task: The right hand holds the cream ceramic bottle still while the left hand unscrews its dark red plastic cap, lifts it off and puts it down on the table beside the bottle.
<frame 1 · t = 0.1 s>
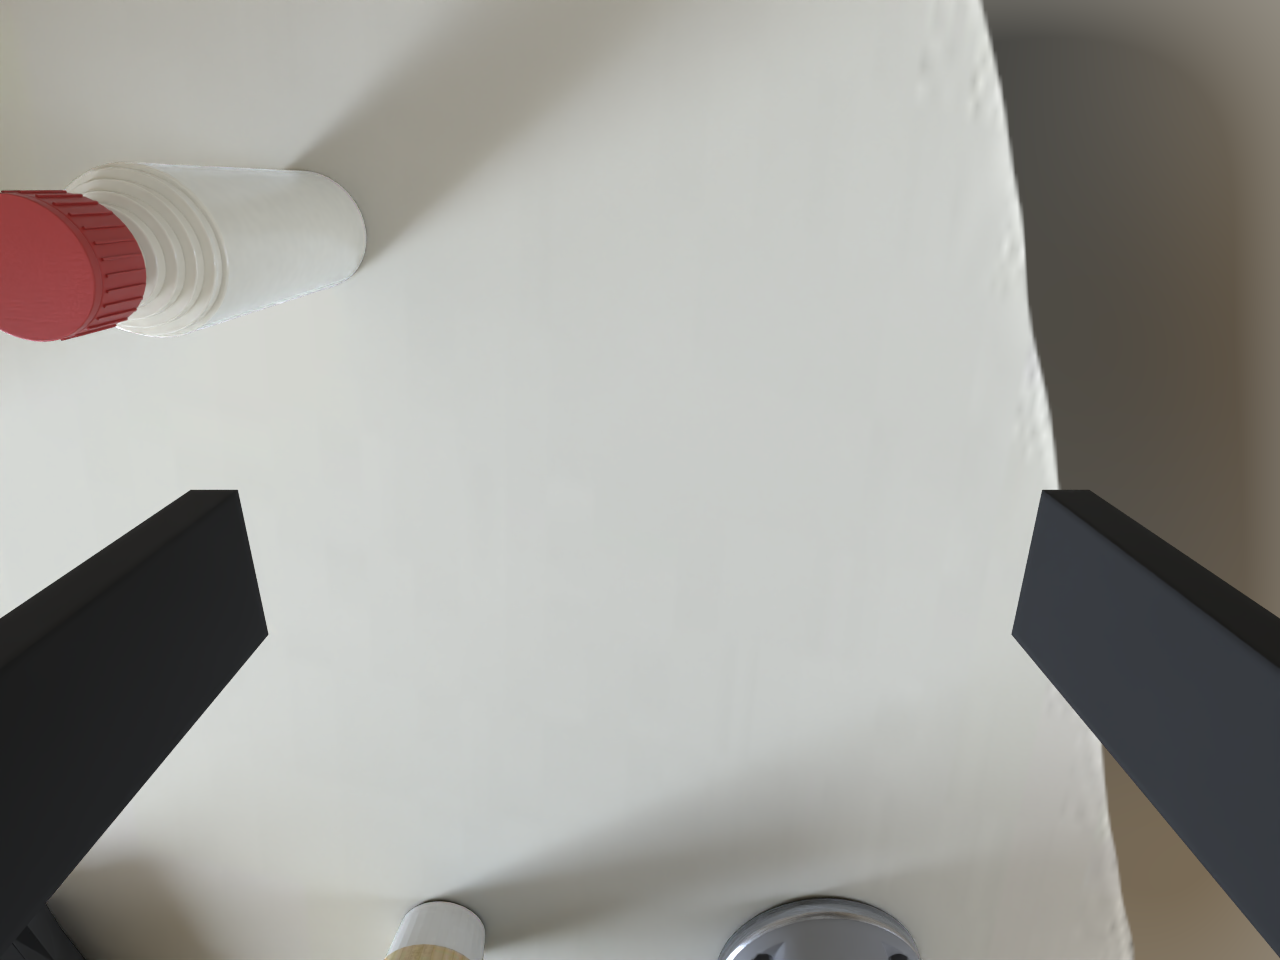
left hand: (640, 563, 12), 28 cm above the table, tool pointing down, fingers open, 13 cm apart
bottle: (310, 230, 37), on the table
cap: (29, 268, 20), point 18 cm above the table, screwed on, not yet turned
coffee cup: (443, 929, 55), on the table
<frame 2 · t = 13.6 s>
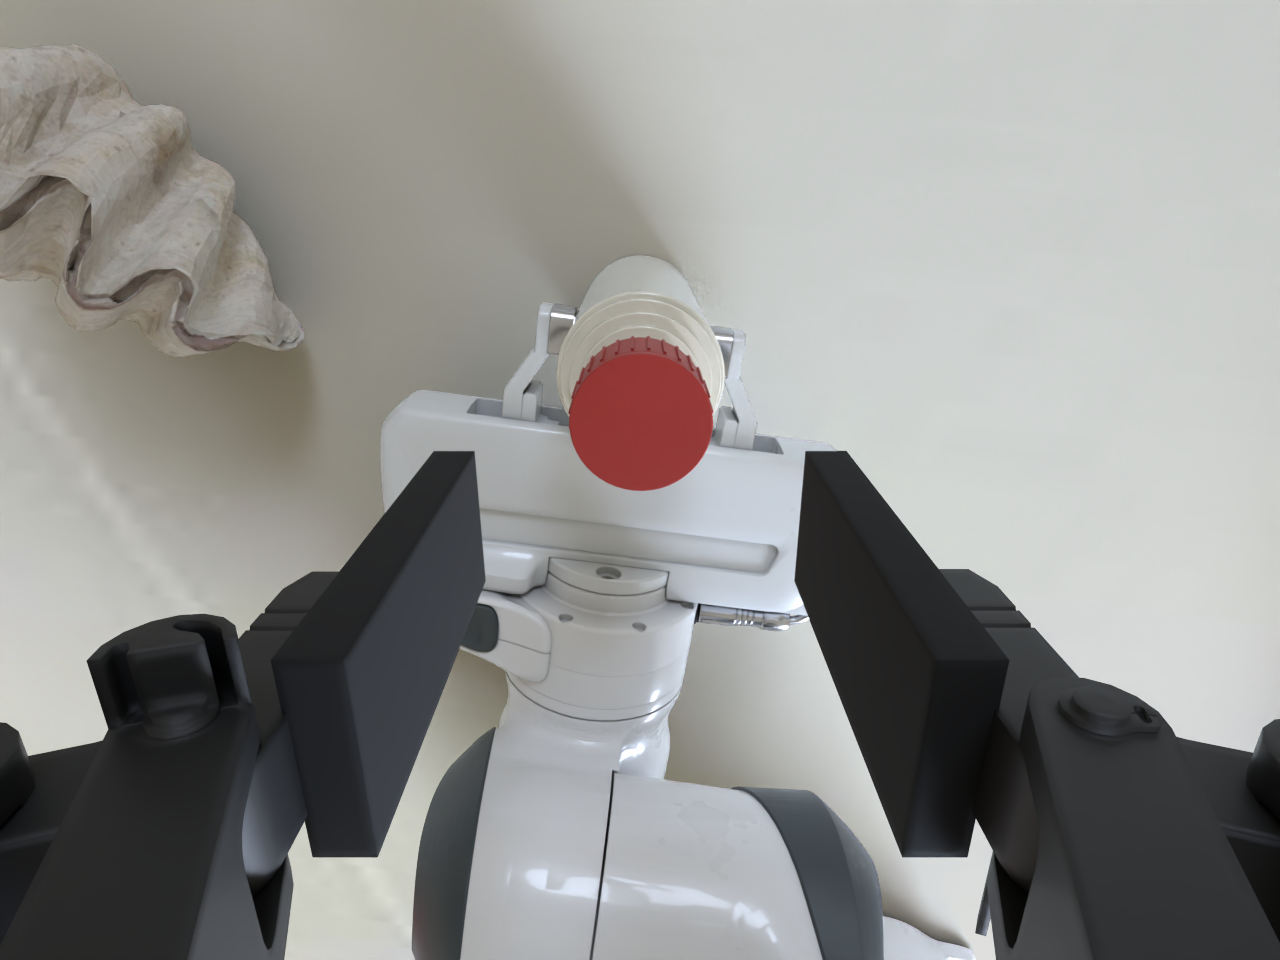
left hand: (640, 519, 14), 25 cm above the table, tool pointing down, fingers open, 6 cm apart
right hand: (642, 317, 30), fingers closed on bottle, 5 cm apart
bottle: (640, 313, 37), on the table, touching right hand
cap: (640, 421, 20), point 18 cm above the table, screwed on, not yet turned
seashell: (175, 212, 35), on the table
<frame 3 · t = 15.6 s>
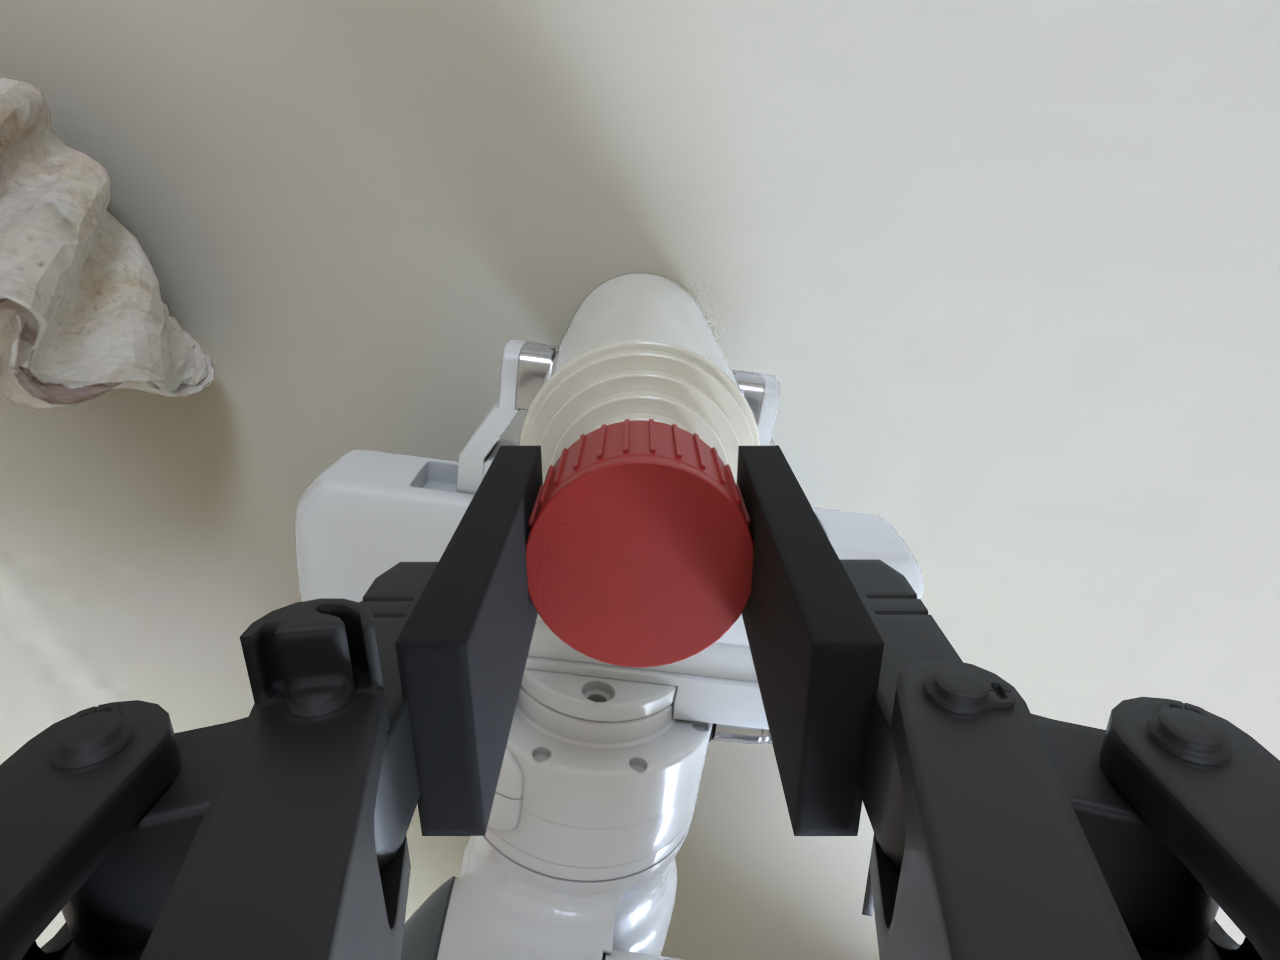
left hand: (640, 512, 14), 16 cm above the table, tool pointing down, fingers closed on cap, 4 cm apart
bottle: (639, 345, 30), on the table, touching right hand
cap: (639, 562, 13), point 18 cm above the table, screwed on, not yet turned, touching left hand
seashell: (50, 218, 28), on the table
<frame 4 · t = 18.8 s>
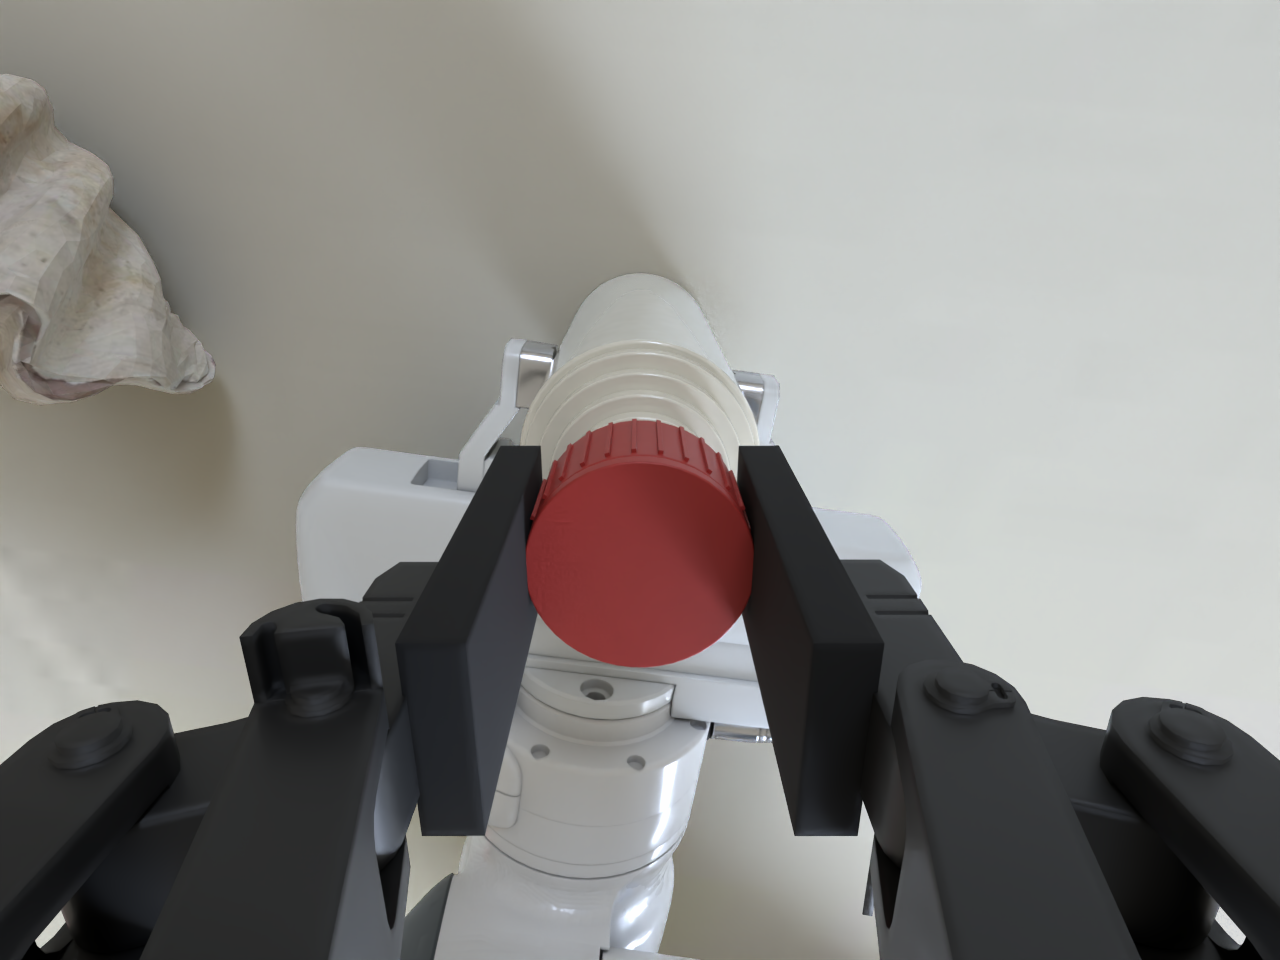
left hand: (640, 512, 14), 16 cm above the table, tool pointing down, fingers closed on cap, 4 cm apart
bottle: (639, 344, 30), on the table, touching right hand
cap: (640, 562, 13), point 18 cm above the table, turned 99° so far, risen 0.1 cm, still on its thread, touching left hand
seashell: (52, 215, 28), on the table
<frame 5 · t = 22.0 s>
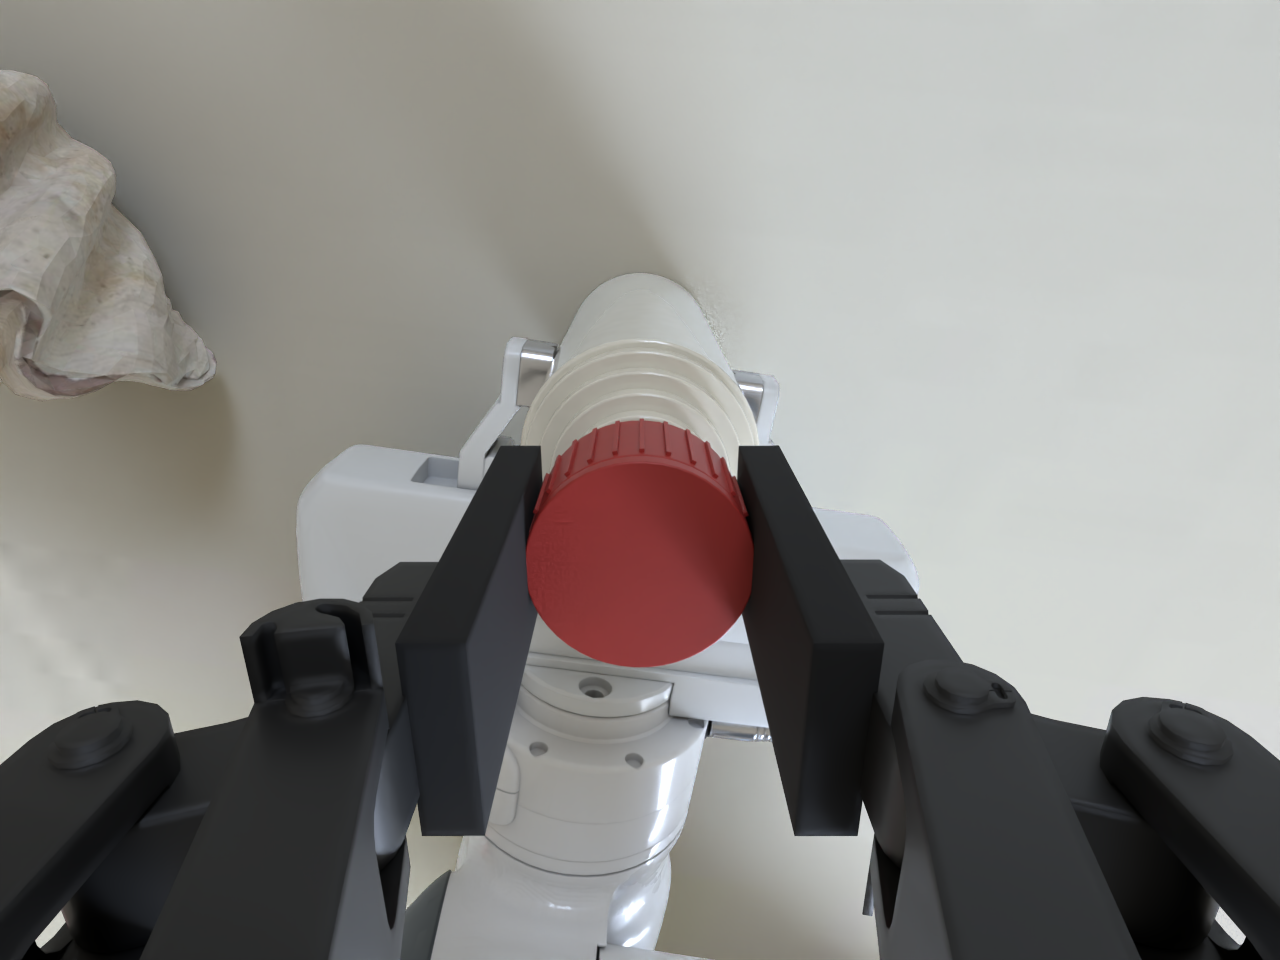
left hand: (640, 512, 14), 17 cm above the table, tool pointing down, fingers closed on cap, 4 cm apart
bottle: (640, 344, 30), on the table, touching right hand
cap: (640, 562, 13), point 19 cm above the table, turned 199° so far, risen 0.2 cm, still on its thread, touching left hand
seashell: (54, 211, 28), on the table
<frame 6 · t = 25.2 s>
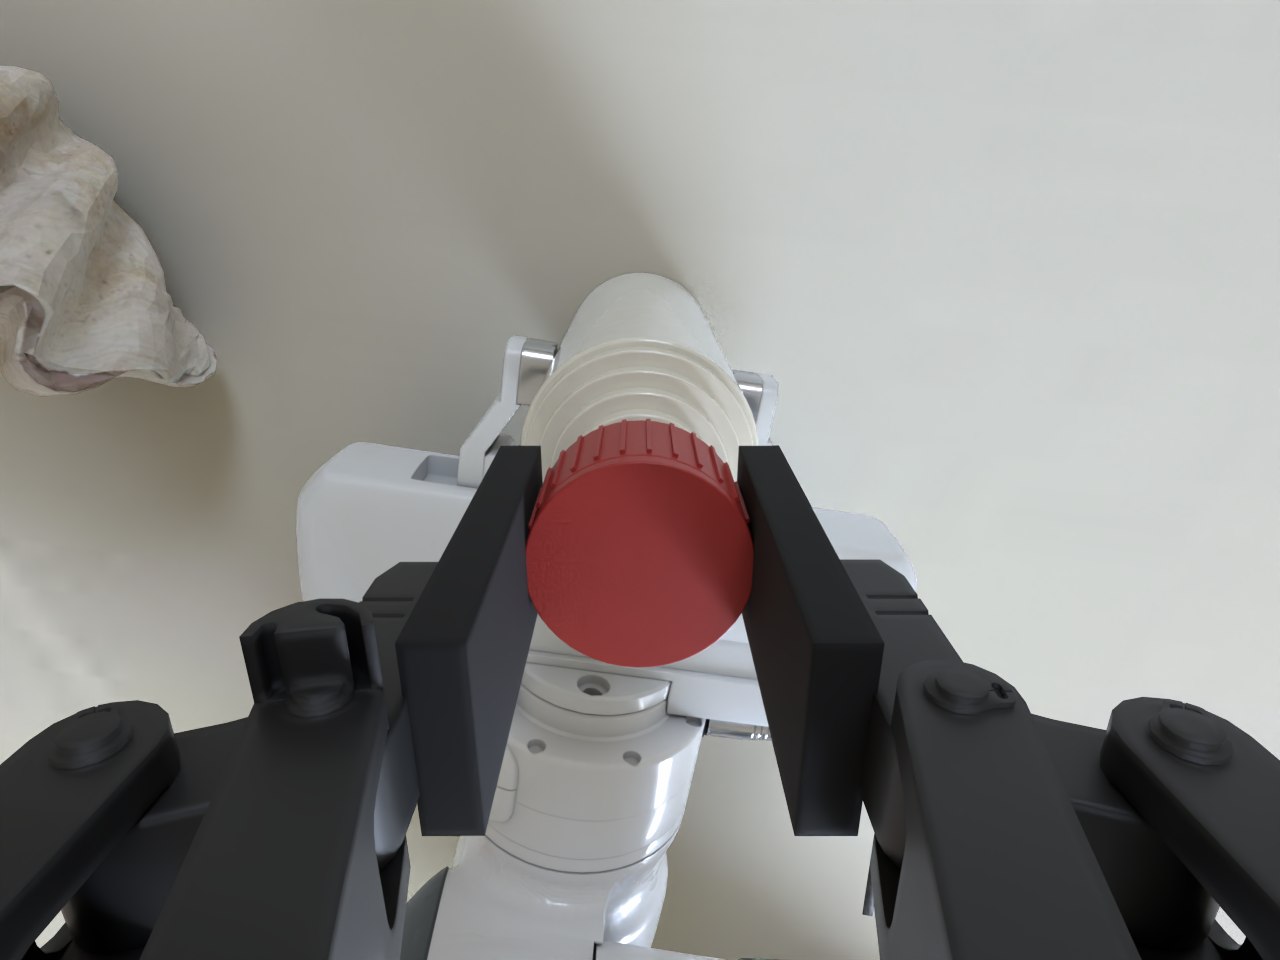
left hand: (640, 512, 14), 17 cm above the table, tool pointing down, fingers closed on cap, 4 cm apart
bottle: (639, 343, 30), on the table, touching right hand
cap: (639, 562, 13), point 19 cm above the table, turned 298° so far, risen 0.3 cm, still on its thread, touching left hand
seashell: (55, 207, 28), on the table
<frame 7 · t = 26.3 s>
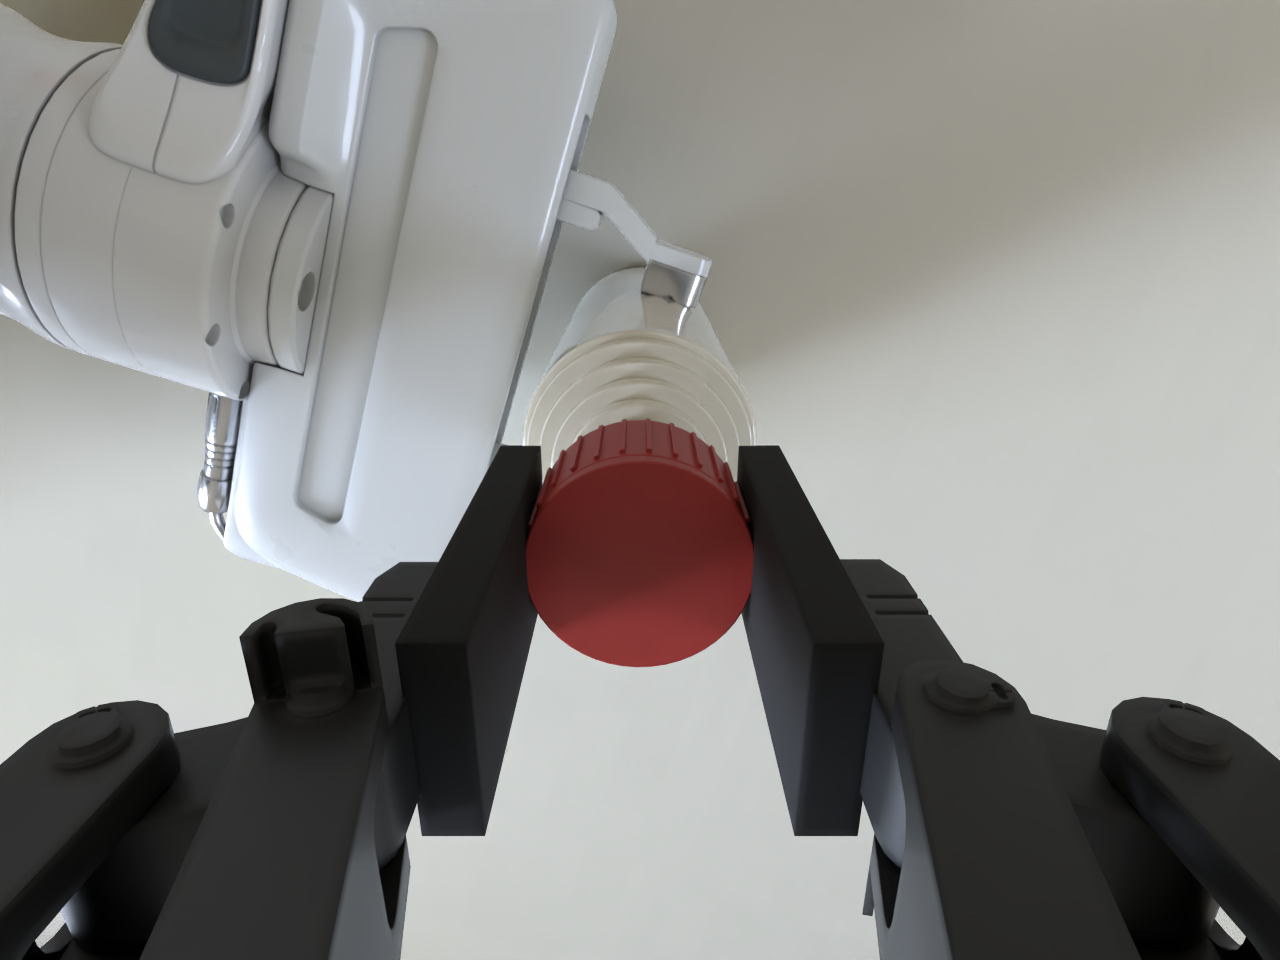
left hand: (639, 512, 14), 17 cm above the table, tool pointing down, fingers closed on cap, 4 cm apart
right hand: (666, 386, 24), fingers closed on bottle, 5 cm apart
bottle: (639, 338, 30), on the table, touching right hand
cap: (639, 562, 13), point 19 cm above the table, off its thread, touching left hand
when the left hand's fingers open (1 cm above the table, at t = 32.4 s): cap drops 1 cm, point 2 cm above the table.
when the right hand's fingers open (7 cm above the table, at t = 33.8 s): bottle stays where it is, on the table.
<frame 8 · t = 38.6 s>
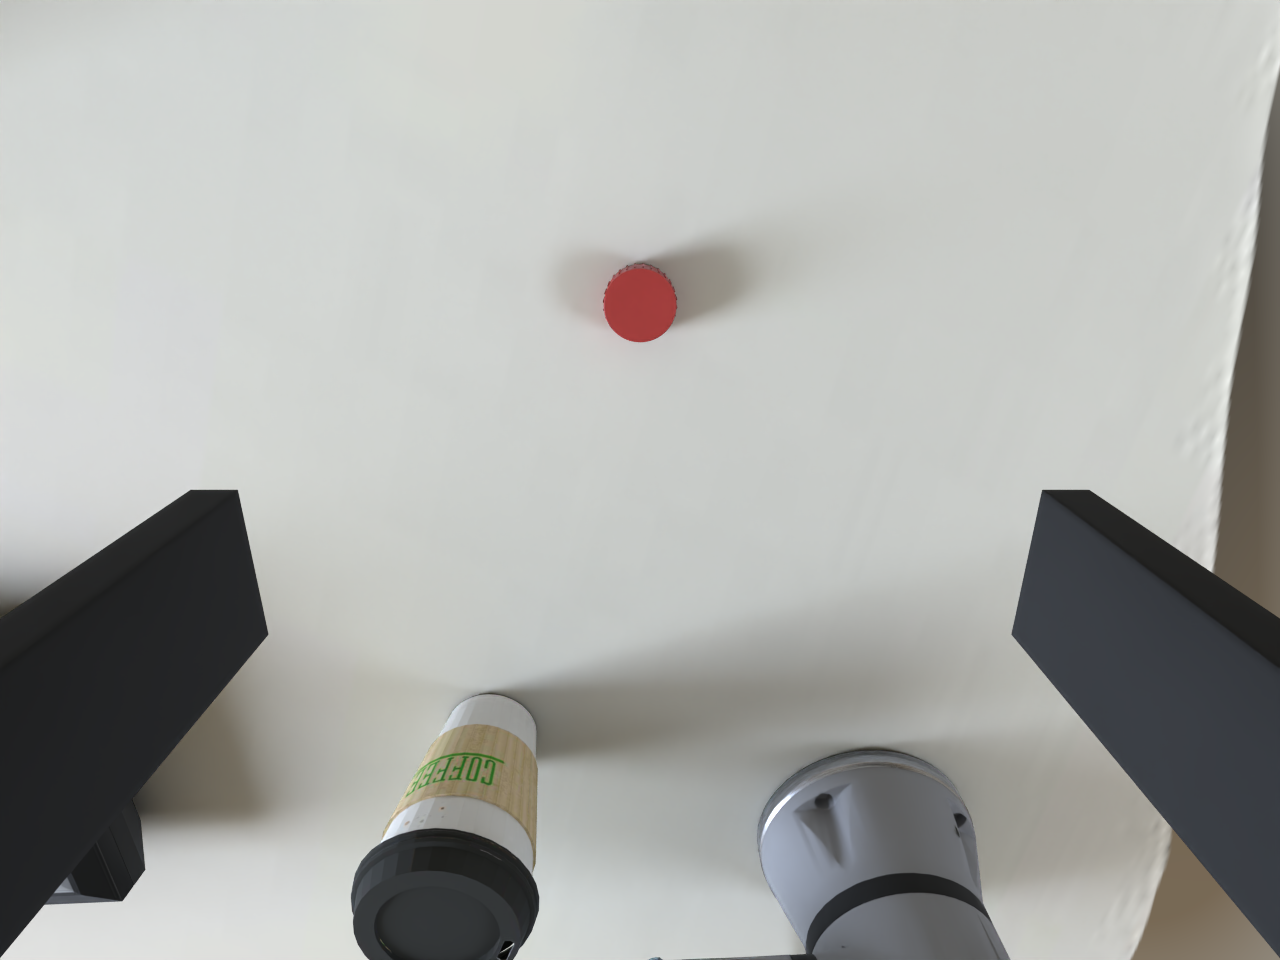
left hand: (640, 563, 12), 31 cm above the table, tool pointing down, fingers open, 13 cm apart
cap: (640, 305, 39), point 2 cm above the table, off its thread
coffee cup: (492, 729, 52), on the table
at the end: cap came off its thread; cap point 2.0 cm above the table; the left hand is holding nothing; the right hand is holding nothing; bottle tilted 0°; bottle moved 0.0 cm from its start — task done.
